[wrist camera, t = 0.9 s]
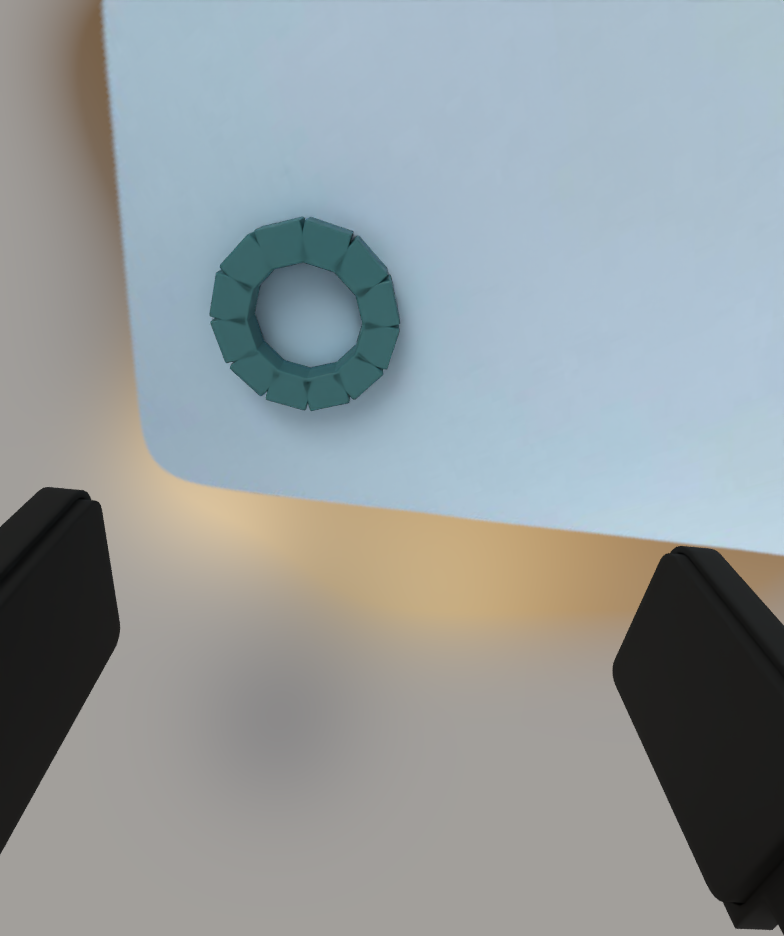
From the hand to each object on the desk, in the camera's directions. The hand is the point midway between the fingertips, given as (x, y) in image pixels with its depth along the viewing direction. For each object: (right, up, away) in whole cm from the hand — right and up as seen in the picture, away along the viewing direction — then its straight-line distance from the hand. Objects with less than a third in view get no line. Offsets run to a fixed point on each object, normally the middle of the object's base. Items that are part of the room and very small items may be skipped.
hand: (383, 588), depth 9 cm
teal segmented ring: (-4, +9, +16) cm, 18 cm away
